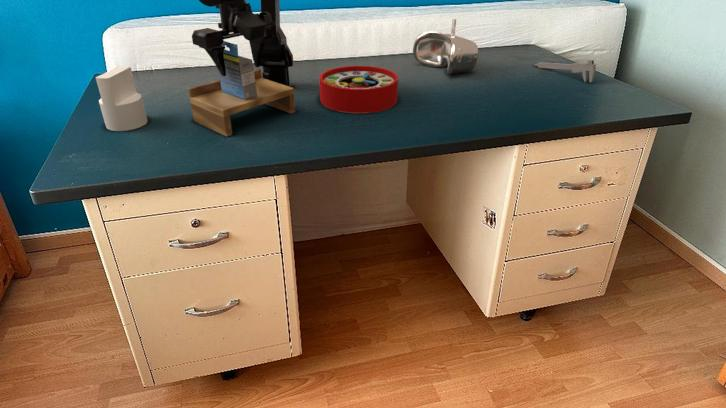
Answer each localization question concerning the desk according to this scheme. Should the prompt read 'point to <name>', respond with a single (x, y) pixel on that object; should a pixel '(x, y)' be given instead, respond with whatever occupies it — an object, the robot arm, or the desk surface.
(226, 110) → the shelf
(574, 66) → the caliper
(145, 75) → the desk surface
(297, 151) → the desk surface
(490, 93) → the desk surface
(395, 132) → the desk surface
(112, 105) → the cylinder with rectangular tab
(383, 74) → the toy clock
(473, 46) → the silver curved metal piece
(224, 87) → the label tape box
